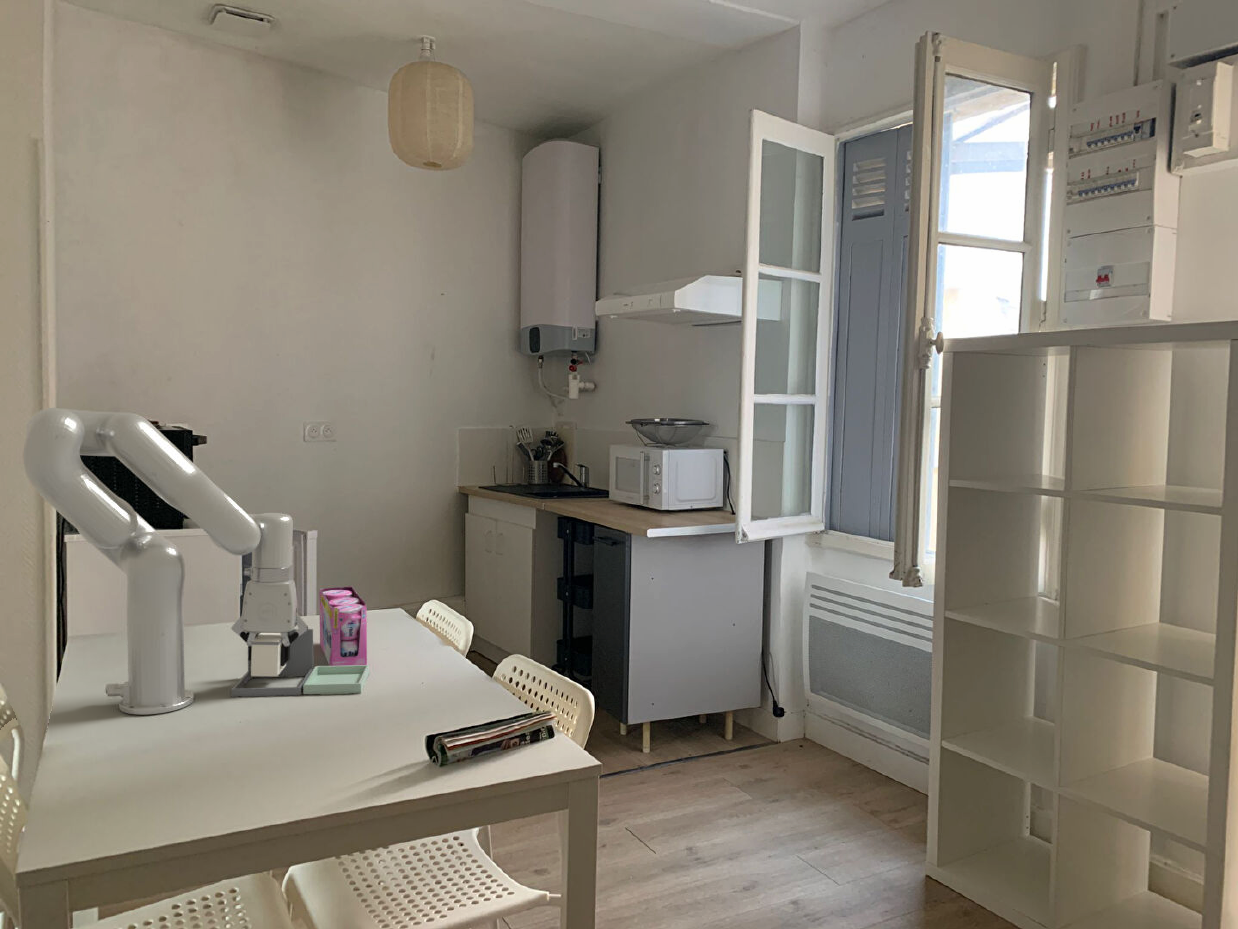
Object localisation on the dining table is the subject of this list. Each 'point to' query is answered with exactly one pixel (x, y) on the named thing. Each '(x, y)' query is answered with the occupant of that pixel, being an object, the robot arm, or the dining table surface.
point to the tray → (336, 679)
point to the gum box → (343, 626)
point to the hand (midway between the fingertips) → (269, 663)
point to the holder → (295, 666)
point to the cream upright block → (266, 655)
